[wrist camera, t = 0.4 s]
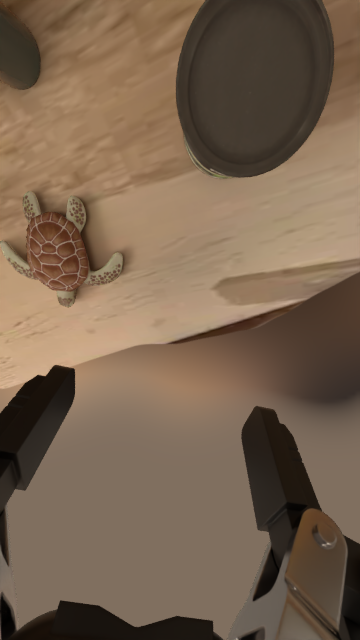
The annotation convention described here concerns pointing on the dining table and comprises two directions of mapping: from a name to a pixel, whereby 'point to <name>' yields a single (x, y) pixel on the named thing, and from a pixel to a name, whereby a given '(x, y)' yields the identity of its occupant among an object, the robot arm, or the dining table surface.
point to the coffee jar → (17, 52)
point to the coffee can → (252, 82)
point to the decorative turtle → (59, 251)
